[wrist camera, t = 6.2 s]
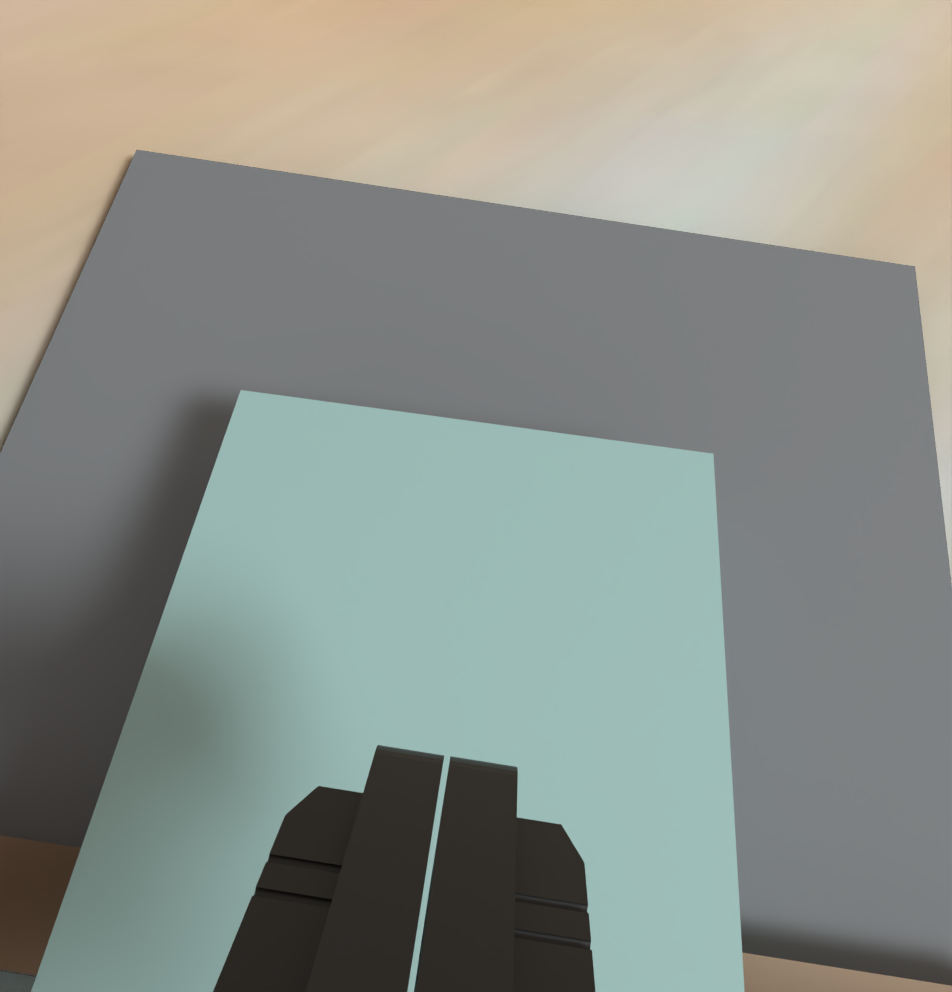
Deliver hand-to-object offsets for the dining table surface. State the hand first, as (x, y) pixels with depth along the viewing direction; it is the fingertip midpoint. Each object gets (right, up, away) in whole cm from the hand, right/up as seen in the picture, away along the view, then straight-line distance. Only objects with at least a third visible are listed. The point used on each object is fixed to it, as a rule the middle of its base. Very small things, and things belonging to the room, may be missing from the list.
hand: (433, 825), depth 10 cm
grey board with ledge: (0, +3, +11) cm, 12 cm away
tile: (-1, -7, +2) cm, 7 cm away
